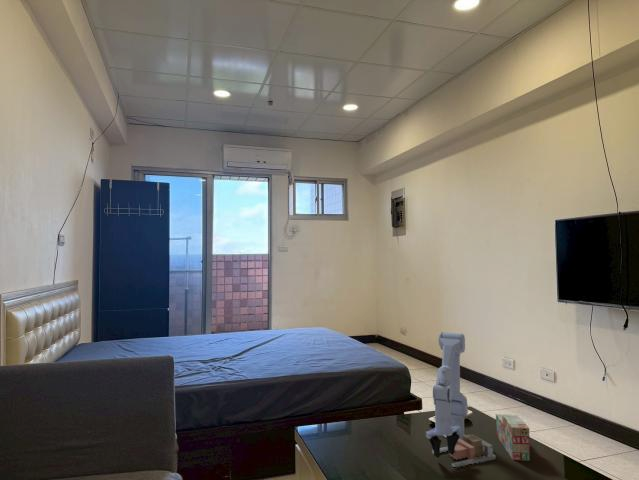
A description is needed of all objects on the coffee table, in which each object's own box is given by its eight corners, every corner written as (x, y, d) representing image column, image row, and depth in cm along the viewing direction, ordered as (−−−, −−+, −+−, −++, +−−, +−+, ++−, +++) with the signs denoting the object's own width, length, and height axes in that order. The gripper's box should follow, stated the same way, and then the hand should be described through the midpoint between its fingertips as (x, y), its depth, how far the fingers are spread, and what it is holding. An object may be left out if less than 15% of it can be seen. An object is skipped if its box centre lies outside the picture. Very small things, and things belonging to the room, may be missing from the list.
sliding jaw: (445, 453, 157) (445, 441, 157) (461, 449, 160) (460, 438, 160) (459, 462, 149) (459, 450, 150) (475, 458, 152) (475, 447, 152)
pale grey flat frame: (432, 452, 158) (431, 440, 158) (471, 444, 165) (470, 433, 165) (454, 468, 146) (454, 455, 146) (495, 458, 152) (495, 446, 153)
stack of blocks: (496, 436, 173) (495, 406, 173) (512, 437, 172) (511, 407, 172) (512, 460, 151) (511, 426, 152) (530, 461, 151) (529, 427, 151)
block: (462, 451, 159) (462, 435, 159) (471, 449, 160) (470, 434, 160) (473, 458, 153) (473, 441, 153) (482, 456, 155) (481, 440, 155)
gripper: (433, 424, 146) (434, 463, 145) (466, 418, 152) (467, 456, 151) (422, 417, 153) (422, 454, 152) (453, 412, 158) (454, 448, 157)
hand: (443, 454), depth 152 cm, fingers open, 6 cm apart
